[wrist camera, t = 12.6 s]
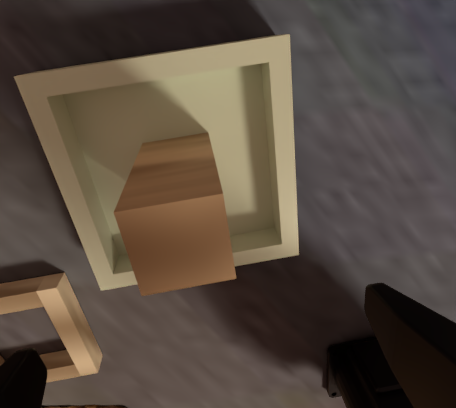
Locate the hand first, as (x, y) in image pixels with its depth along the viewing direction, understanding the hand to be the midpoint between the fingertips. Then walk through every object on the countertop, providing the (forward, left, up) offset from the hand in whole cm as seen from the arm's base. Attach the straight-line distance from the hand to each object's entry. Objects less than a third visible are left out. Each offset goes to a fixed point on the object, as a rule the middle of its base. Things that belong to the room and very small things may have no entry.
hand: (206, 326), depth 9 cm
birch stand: (-9, +14, -12) cm, 20 cm away
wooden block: (+1, +1, -11) cm, 11 cm away
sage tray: (+1, +1, -12) cm, 12 cm away
